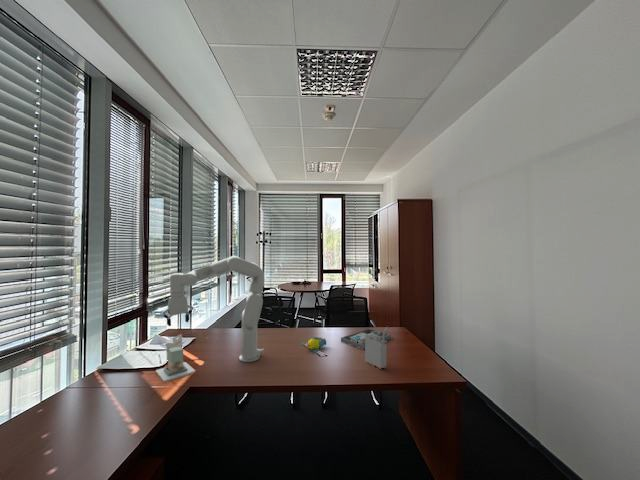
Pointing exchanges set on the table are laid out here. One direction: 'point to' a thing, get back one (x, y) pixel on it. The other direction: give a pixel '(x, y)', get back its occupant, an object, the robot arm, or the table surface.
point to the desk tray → (346, 338)
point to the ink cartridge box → (174, 343)
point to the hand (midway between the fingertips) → (178, 323)
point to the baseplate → (168, 376)
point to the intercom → (361, 337)
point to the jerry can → (375, 349)
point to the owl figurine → (315, 343)
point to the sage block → (175, 354)
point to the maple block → (175, 366)
